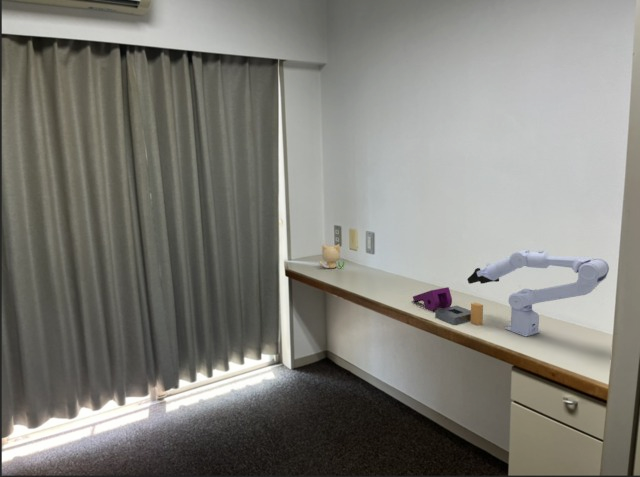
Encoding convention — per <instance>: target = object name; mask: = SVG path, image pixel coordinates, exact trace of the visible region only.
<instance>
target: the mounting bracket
mask: <svg viewBox="0 0 640 477" xmlns="http://www.w3.org/2000/svg"><path fill="white" fill-rule="evenodd" d="M412 299H413V302H418V301H423V305H424V307H425V309H426V310H428V311H431V312H432V311H435V310H439V308H441V309H443V308H448V307H452V304H453V298H452V294H451V290H450V287H448V286H447V287H442V288H435V289H432V290H429V291H428V290H427V291H425V292H422V293H420V294H416V295H413V296H412Z"/></svg>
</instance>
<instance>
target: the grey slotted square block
mask: <svg viewBox="0 0 640 477" xmlns="http://www.w3.org/2000/svg"><path fill="white" fill-rule="evenodd" d="M434 312H435V313H434V314H435V315H434V317H435V318H436V319H438V320H441V321H444V322H446V323H448V324H450V325H453V326H457V325H460V324H463V323H468V322H471V309H467V308H464V307H463V306H460V305H457V304H456V305H453V306H452V305H451V306H450V307H448V308H440V309H439V308H438V309H437V310H434Z"/></svg>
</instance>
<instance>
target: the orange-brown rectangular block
mask: <svg viewBox="0 0 640 477" xmlns="http://www.w3.org/2000/svg"><path fill="white" fill-rule="evenodd" d="M470 310H471V321H470V323H472V324H473V325H476V326H480V325H483V322H484V321H483V318H484V317H483V316H484V304H482V303H479V302H472V303H470Z"/></svg>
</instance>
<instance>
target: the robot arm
mask: <svg viewBox="0 0 640 477" xmlns="http://www.w3.org/2000/svg"><path fill="white" fill-rule="evenodd" d="M550 266H553V267H562V268H571V269H572V270H573V272H574V273H575V274H577V280H576V282H570V283H566V284H560V285H555V286H549V287H545V288H539V289H537V288H535V289H530V288H523V289H521V290H519V291H517V292H513V293H512V294H510V295H509V296H508V304H509V306H510V308H511V310H510V312H511V313H510V325H509V326H507V327H505V330H506V331H507V330H508V331H510V332H513V333H515V334H518V335H520V336H523V337H529V336H532V335H537V334H539V333H540V331H539V323H540V322H539V321H540V315H539V314H538V312H536V311H534V310H533V305H536V304H538V303H539V304H540V303H543V302H544V303H545V302H551V301H556V300H557V301H558V300H561V299H568V298H569V299H570V298H574V297H576V298H577V297H580V296H586V295H588V294H590V293H592V292H593V291H594V289H596V288H597V287H598V286H599V285H600V283H602V282H603V281H604V280H605V279H607V276H608V273H609V270H610V266H609V264H608V262H607V261H606V260H605V259H602V258H594V257H590V256H587V257H585V256H560V255H559V256H552V255H550V254H549V253H548V252H545V251H544V250H538V251H530V250H519V251H516V252H513V253H512V254H511V255H509V256H507V257H504V258H503V259H500V260H498V261H497V262H495V263H493V264H491V263H486V267H484V268H482V269H481V268H480V267H477V268H475V269H474V271H473V273H472V274H471V275H470V276H469V277H468V278H467V282H468V284H470V285H471V284H474V283H477V282H479V283H480V284H487V283H491V282H492V283H493V282H496V283H497V282H500V278H502V277H503V276H506V275H508V274H510V273H512V272H515V271H516V270H517V269H521V268H523V267H526V268H532V269H533V268H536V269H548V268H549V267H550Z"/></svg>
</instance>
